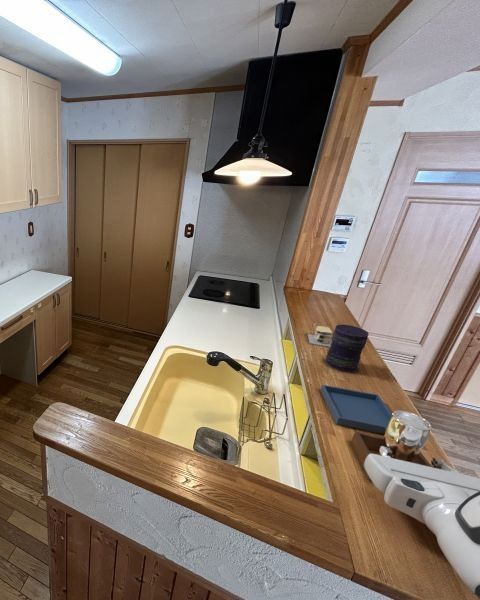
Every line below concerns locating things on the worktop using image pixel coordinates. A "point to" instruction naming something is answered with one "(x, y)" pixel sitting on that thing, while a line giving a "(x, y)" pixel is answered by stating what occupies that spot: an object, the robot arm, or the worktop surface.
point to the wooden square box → (376, 448)
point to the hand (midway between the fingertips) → (409, 454)
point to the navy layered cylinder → (346, 348)
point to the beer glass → (406, 435)
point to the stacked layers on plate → (321, 336)
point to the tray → (357, 408)
